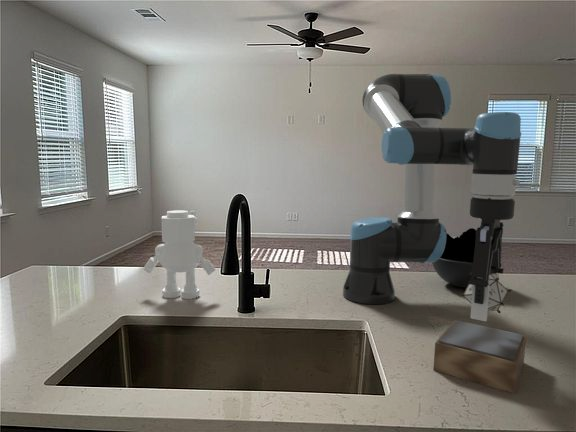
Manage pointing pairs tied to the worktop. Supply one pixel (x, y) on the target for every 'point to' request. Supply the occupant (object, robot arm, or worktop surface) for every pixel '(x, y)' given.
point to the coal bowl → (457, 259)
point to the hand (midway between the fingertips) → (484, 311)
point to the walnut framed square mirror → (481, 355)
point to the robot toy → (179, 254)
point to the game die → (490, 293)
